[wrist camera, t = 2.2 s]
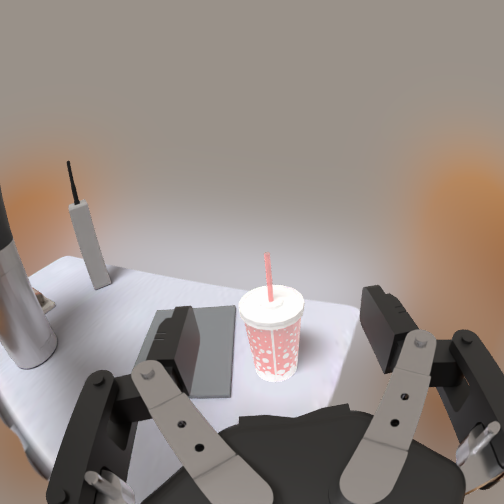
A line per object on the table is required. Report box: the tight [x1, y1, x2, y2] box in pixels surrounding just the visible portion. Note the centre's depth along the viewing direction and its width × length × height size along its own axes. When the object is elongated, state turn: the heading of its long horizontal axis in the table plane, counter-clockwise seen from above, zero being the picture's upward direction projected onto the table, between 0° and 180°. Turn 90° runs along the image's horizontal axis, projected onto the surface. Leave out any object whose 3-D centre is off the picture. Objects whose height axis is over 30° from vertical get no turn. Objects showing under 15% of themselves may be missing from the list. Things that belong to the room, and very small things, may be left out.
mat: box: [133, 305, 236, 398], centre depth 34 cm, size 12×16×1 cm
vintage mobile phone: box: [67, 161, 111, 290], centre depth 47 cm, size 4×5×25 cm
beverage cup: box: [239, 252, 304, 382], centre depth 27 cm, size 6×6×14 cm
